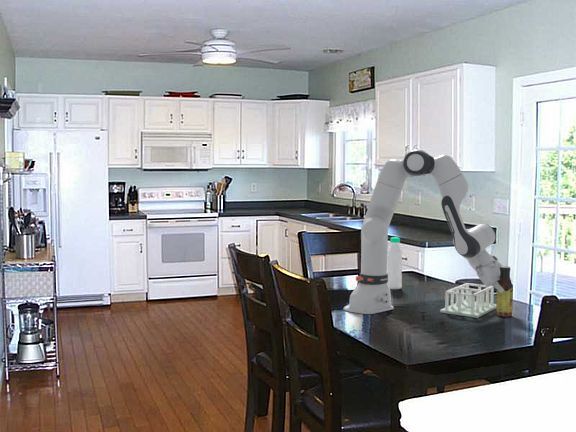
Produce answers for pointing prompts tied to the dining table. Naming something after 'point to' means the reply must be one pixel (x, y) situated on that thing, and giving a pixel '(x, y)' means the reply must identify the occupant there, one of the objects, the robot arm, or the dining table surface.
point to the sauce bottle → (505, 293)
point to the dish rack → (469, 301)
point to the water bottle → (394, 264)
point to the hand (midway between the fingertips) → (506, 290)
